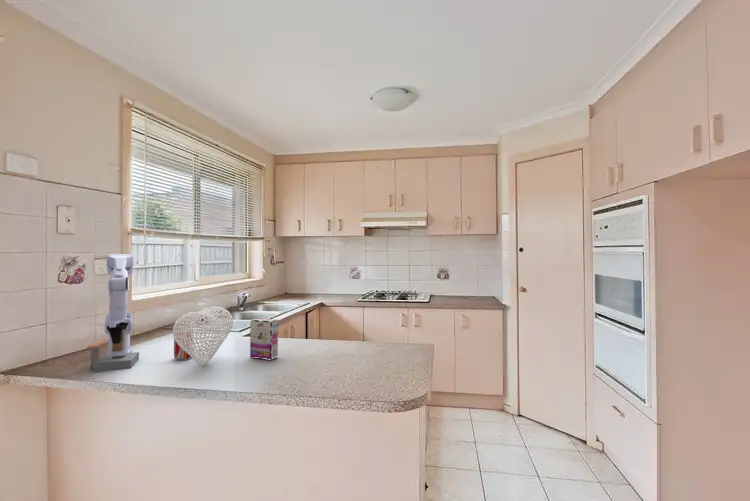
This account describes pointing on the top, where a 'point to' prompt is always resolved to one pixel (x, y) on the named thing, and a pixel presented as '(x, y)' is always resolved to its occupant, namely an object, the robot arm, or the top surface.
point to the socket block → (110, 358)
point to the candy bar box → (264, 338)
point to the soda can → (178, 351)
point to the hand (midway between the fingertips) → (117, 342)
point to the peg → (121, 345)
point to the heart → (217, 332)
